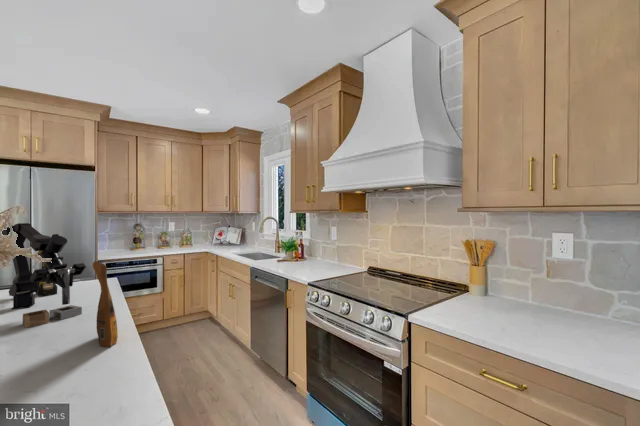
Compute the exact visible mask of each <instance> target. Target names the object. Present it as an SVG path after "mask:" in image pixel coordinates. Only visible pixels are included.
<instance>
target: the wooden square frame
mask: <svg viewBox="0 0 640 426" xmlns="http://www.w3.org/2000/svg"><path fill="white" fill-rule="evenodd" d="M49 323H50V317H49V311H48V310H47V309H40V310H35V311H31V312H25V313H22V325H23V326H24V328H31V327H35V326H40V325H41V326H42V325H43V324H49Z"/></svg>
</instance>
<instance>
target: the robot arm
mask: <svg viewBox="0 0 640 426" xmlns="http://www.w3.org/2000/svg"><path fill="white" fill-rule="evenodd" d="M11 226H12V228H13V231H14V232H16V233H17V234H18V237H17V240H16V244H17V245H18V247H20V248H25V244H24V243H25V241H26V240H27V241H29V242H30V247H31V249H32V250H33V251H34V252H39V251H42V252H41V253H40V256H41V257H42V258H52V260H51V261H52V263H51V262H44V263H45V268H43V269H42V268H37V269H35V270H34V271H33V272H32V271H30V266H29V262H28V257H27V256H26V257H25V256H22V255H19V256H16V257H15V258H14V259H13V258H12V263H13V267H14V272H15V277H14V278H13V280H12V285H11V286H10V288H9V290H8V295H9V296H10V297H12V307H10V309H11V310H15V309H16V310H18V309H27V308H28V309H29V308H31V307H32V306H33V305H35V304H36V302H35V300H36V297H35V296H36V295H34V293H36V292H37V290H38V285H39V282H41V283H42V282H46V283H47V284H50V283H55V284H56V285H58V286H59V287H60V288H61V289H62V288H64V287H65V285H64V282H63V280H62V275H57V271H60V270H64V269H73V268H74V269H75V272H74V273H70V288H71V287H73V285H74V282H73V281H74V276H79V275H81V274H82V273H83V272H84V271H85V269H86V268H87V266H86V264H85V263H84V262H80V263H74V264H73V265H72V267H67V266H68V264H67V263H65V262H64V261H63V260H64V256H61V255H60V254H59V253H62V251H63V249H64V248H65V247H66V245H67V243H68V239H67V238H66V237H64V236H62V235H59V234H58V233H53V234H52V235H51V236H49V235H44V234H42V233H41V232H39V231H38V230H36V228H34V227H33V226H32V224H31V223H29V222H24V223H23V222H20V223H16V224H14V225H11ZM9 227H10V226H7V227H6V228H7V230H3V229H2V230H3V231H2V230H1V231H2V234H3V235H8V234H9V232H10V228H9Z"/></svg>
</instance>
